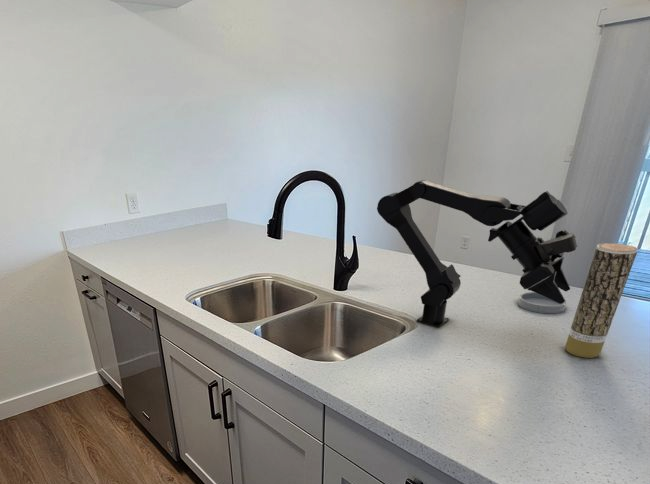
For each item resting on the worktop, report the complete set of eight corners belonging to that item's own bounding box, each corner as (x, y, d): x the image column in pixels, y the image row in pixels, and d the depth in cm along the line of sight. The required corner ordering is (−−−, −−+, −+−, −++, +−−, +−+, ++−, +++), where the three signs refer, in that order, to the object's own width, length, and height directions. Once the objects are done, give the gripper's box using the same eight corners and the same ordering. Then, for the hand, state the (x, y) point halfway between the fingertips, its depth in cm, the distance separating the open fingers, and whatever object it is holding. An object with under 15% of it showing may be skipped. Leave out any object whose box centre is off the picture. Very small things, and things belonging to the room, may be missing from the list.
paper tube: (605, 359, 99) (645, 251, 87) (571, 358, 100) (607, 251, 89) (590, 346, 105) (626, 243, 93) (559, 345, 106) (590, 243, 95)
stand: (557, 316, 120) (559, 309, 119) (511, 306, 128) (513, 299, 127) (569, 304, 127) (571, 297, 126) (525, 296, 135) (527, 289, 134)
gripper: (551, 229, 89) (601, 288, 88) (563, 213, 102) (607, 265, 100) (500, 261, 97) (545, 316, 96) (517, 243, 110) (557, 291, 109)
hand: (565, 296), depth 100 cm, fingers open, 9 cm apart
